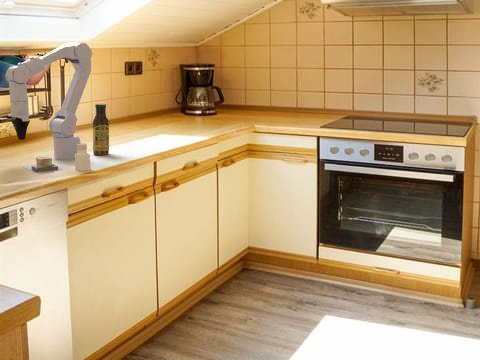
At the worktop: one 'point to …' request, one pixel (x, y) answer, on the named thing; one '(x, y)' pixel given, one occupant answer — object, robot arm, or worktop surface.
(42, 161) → the maple block
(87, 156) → the pepper shaker
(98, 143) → the sauce bottle
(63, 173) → the worktop surface
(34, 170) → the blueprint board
